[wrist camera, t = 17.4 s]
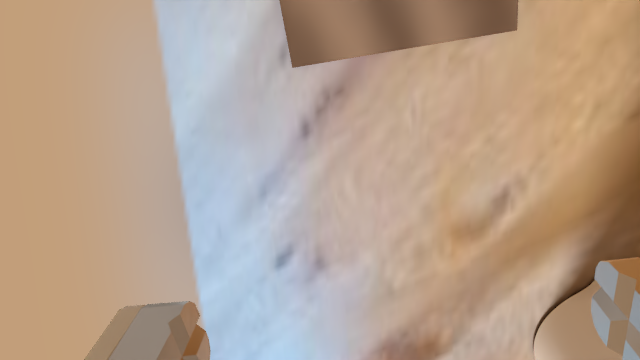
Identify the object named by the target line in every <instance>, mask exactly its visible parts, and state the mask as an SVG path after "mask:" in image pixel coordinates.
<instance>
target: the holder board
mask: <svg viewBox="0 0 640 360" xmlns="http://www.w3.org/2000/svg"><path fill="white" fill-rule="evenodd" d="M280 5H281V10H282V16H283V21H284V26H285V31H286V36H287V42H288V47H289V52H290V57H291V62H292V68H294V67H300V66H306V65H312V64H318V63H324V62H330V61H336V60H342V59H348V58H354V57H360V56H366V55H372V54H378V53H384V52H389V51H395V50H401V49H407V48H413V47H419V46H425V45H431V44H437V43H443V42H449V41H455V40H461V39H467V38H473V37H479V36H485V35H491V34H497V33H503V32H509V31H515V30H517V16H518V0H280Z"/></svg>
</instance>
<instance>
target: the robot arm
mask: <svg viewBox="0 0 640 360" xmlns="http://www.w3.org/2000/svg"><path fill="white" fill-rule="evenodd" d="M594 279H595V280H594V281H593V282H592V283H591V285H589V286H588V287H587V288H585V289H584V290H582V291H580V292H579V293H577V294H575V295H573V296H572V297H570V298H568V299H567V300H565V301H564V302H562V303H561V304H560V305H559V306H557V307H556V308H555V309H554V310H553V311H552V312H551V313H550V314H549V315H548V316H547V317H546V318H545V320H544V321H543V323H542V324H541V326H540V327H539V329H538V331H537V334H536V337H535V341H534V356H535V360H640V257H635V258H625V259H616V260H606V261H600V262H599V263H598V265H597V267H596V270H595V277H594ZM199 316H200V315H199V312H198V310H197V308H196V305H195V304H194V303H192V302H190V301H186V302H172V303H159V304H147V305H137V306H126V307H124V308H122V309H120V310H119V311H118V312H117V314H116V315H115V317H114V318H113V319H112V321H111V322H110V324H109V325H108V327H107V328H106V329H105V331H104V332H103V334H102V335H101V336H100V338H99V339H98V341H97V342H96V344H95V345H94V346H93V348H92V349H91V351H90V352H89V353H88V355H87V356H86V358H85V359H84V360H210V345H209V339H208V336H207V333H206V331H205V330H204V329H202V328H201V327H200V326H198V325H197V324H196V323H197V321H198V319H199Z"/></svg>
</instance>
